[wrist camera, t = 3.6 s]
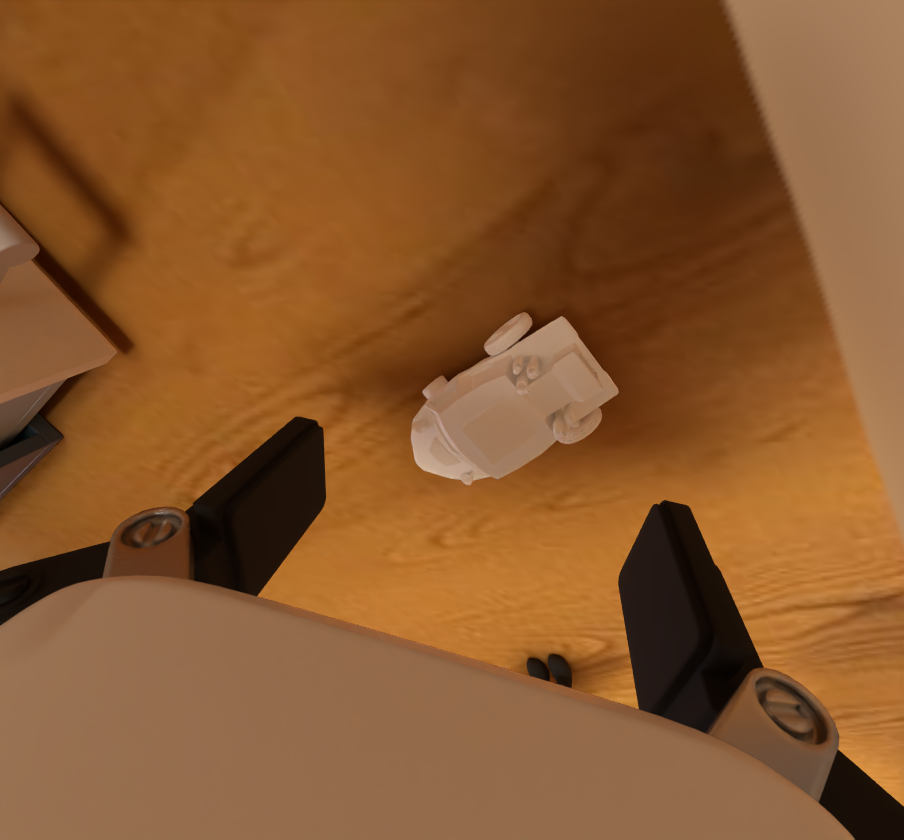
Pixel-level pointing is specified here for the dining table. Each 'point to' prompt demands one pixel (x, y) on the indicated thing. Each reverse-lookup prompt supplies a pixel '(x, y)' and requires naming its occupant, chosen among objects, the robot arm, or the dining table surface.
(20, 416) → the drawer
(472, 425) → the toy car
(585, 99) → the dining table surface
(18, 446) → the cabinet
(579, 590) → the dining table surface
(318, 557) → the dining table surface
